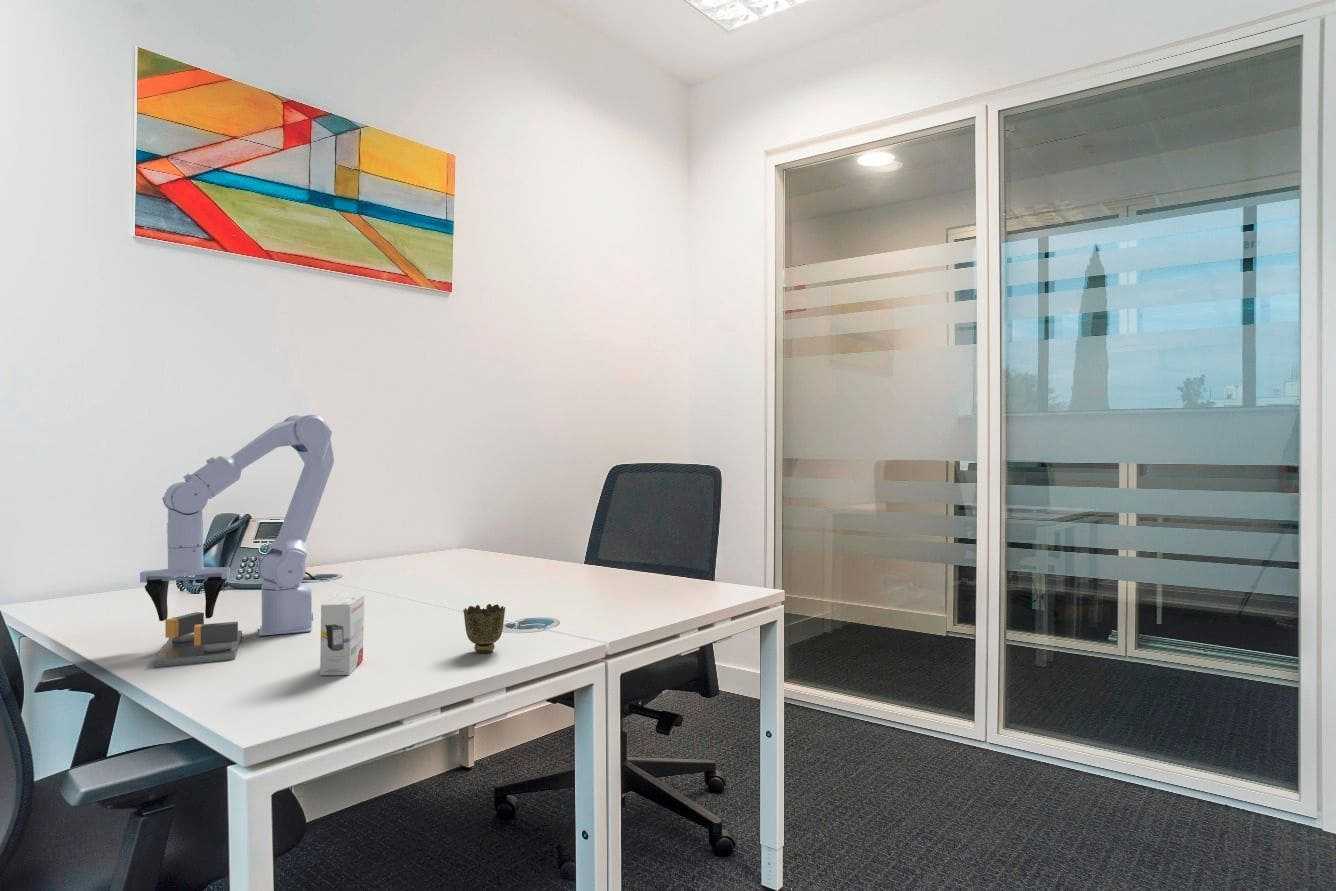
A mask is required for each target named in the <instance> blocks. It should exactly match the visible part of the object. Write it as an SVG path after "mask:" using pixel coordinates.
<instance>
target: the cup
mask: <svg viewBox="0 0 1336 891" xmlns="http://www.w3.org/2000/svg"><path fill="white" fill-rule="evenodd" d="M462 612H463V617H464V618H463V620H464V625H465V626H464V627H465V632H466V635H467V638H468V640H469V641H470V642H471V643H472V644H473V645H474V646H473V649H474V651H475V653H478V654H489V653H492V652H493V651H494V650H495V647H496V646H495V643H496V642H498V641H499V639H500V638H501V637H502V634H503V630H504V621H505V613H506V607H505V606H504V605H502V606H500V605H499V604H498V603H497V604H494V605H492V604H490V603H488V604H486V607H485V608H484V607H483V608H481V606H480V605H478V604H477V605H475V606H472V605H469V606H468V607H467V608H466V607H464V609H463V610H462Z"/></svg>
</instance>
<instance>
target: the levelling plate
mask: <svg viewBox="0 0 1336 891" xmlns="http://www.w3.org/2000/svg"><path fill="white" fill-rule="evenodd" d="M242 632H243V630H242V629H241V630H240V629H238V641H236V642H231V648H230V649H228V650H224V651H218V652H205V651H203V645H196V646H194V641H190V642H172V638H168V639H167V641H166V642H165V644H164V646H162V648H161V650H160V651H159V653H158V655H157V656H156V657H155V659H154V661H153V662H154V664H153V666H154V668H164V667H165V668H166V667H173V666H183V665H185V666H186V665H193V664H205V663H213V662H221V661H222V662H224V661H232V660H236V656H237V653H238V650H239V648H240V643H241V641H242V638H243V637H242V636H243V633H242Z"/></svg>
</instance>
